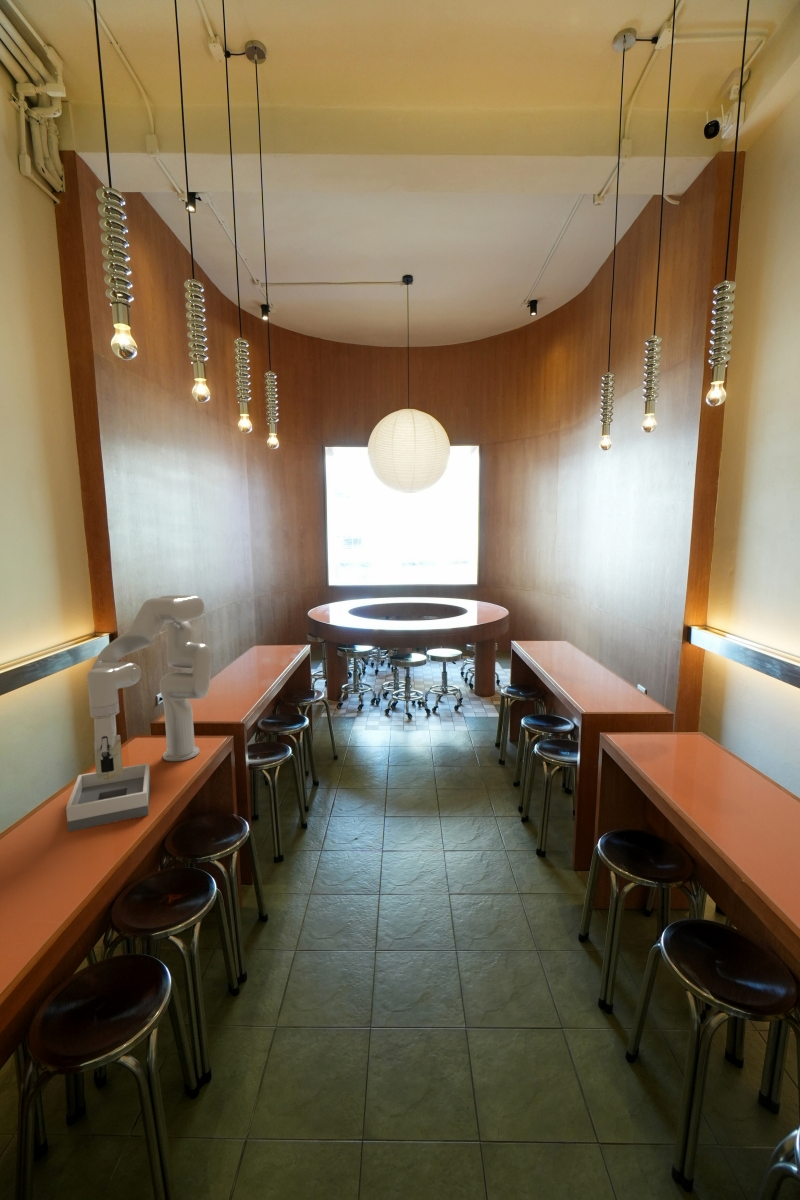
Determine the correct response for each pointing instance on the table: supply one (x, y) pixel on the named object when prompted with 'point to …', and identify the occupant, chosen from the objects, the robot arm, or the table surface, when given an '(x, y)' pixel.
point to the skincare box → (116, 760)
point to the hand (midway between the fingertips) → (109, 765)
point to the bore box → (109, 798)
